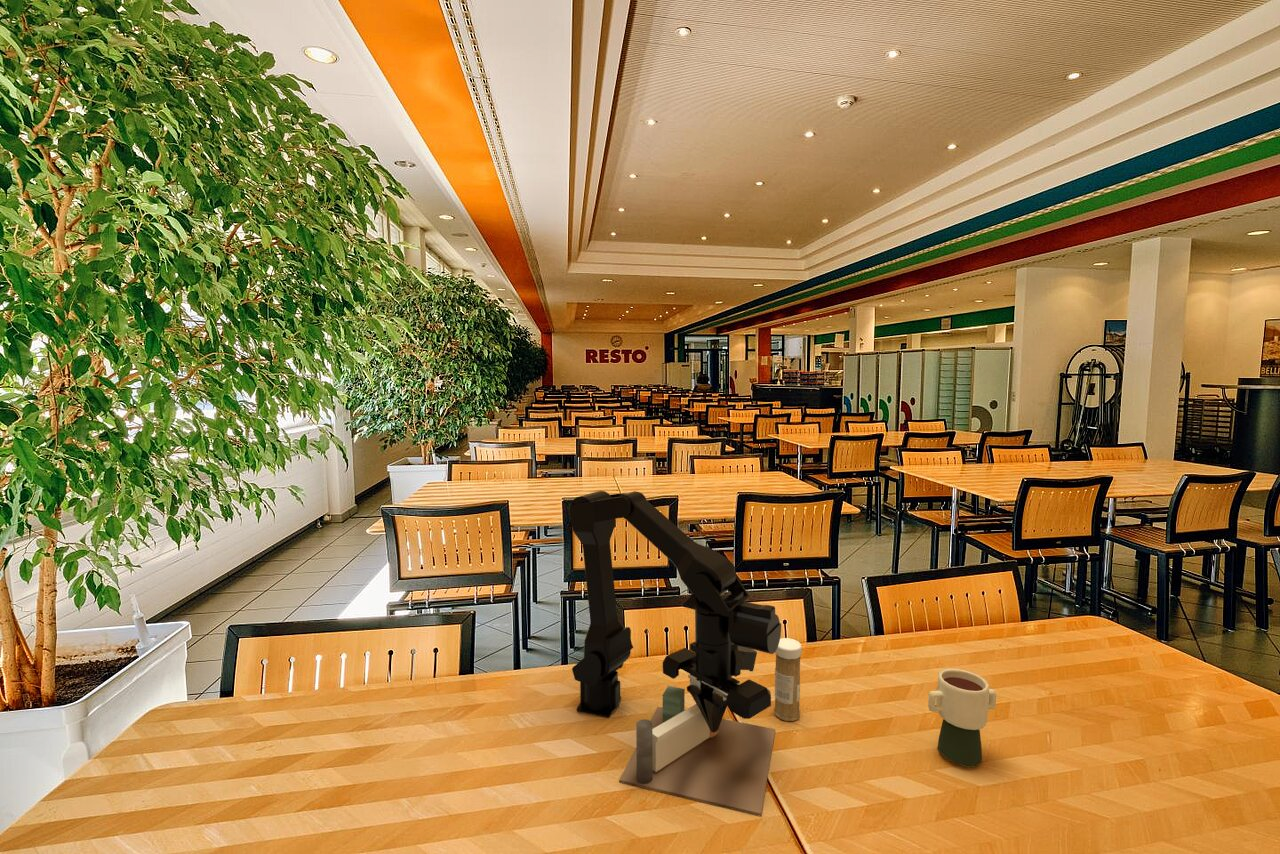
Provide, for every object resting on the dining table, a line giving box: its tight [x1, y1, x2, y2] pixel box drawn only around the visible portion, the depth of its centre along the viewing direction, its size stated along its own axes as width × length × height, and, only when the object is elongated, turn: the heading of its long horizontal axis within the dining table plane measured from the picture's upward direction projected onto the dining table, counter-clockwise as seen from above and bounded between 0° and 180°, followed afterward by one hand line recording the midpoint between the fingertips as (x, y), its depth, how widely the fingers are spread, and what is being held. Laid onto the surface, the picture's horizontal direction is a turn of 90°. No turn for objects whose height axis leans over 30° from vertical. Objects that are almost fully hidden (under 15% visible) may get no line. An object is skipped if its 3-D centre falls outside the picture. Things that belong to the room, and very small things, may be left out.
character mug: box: [927, 668, 997, 768], centre depth 91 cm, size 11×7×13 cm, turn 94°
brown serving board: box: [618, 685, 776, 817], centre depth 92 cm, size 21×20×9 cm
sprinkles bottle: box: [773, 637, 803, 722], centre depth 103 cm, size 5×5×14 cm
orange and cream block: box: [652, 703, 718, 772], centre depth 92 cm, size 14×2×6 cm, turn 132°
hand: (714, 731), depth 93 cm, fingers closed
